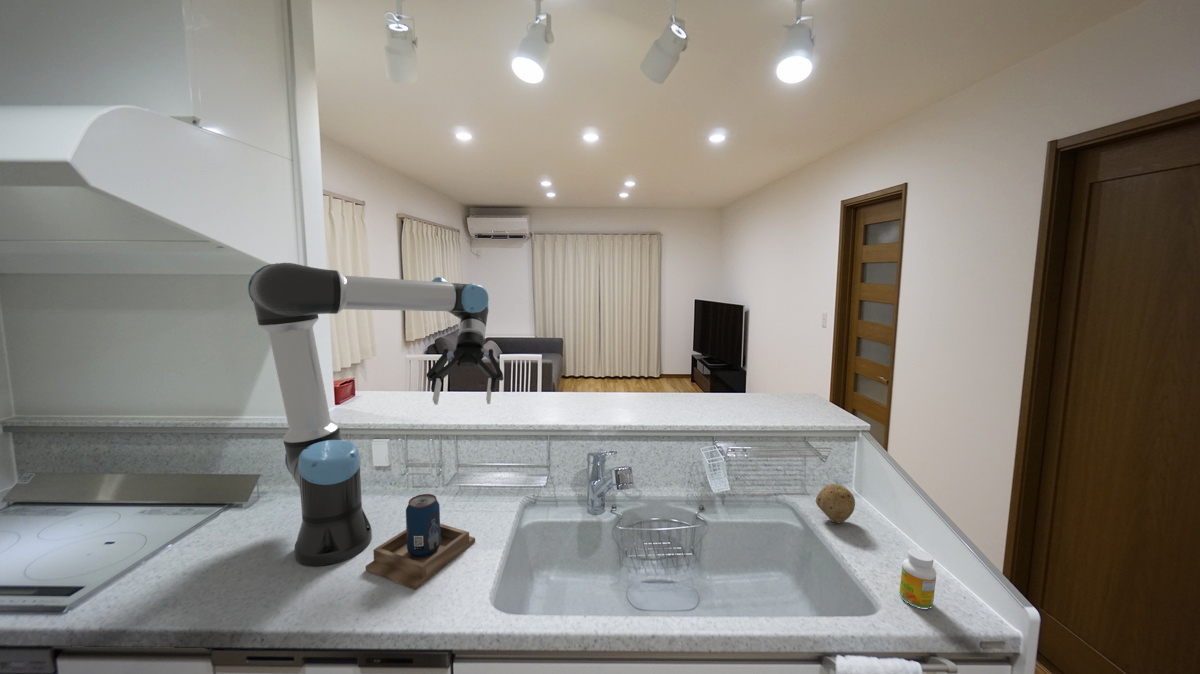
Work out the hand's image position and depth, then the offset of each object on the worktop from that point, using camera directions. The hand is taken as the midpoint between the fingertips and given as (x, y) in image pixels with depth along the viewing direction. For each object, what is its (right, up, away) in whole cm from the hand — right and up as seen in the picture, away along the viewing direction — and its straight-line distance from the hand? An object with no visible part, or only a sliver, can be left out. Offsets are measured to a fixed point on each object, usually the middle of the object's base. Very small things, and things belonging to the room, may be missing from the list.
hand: (461, 401), depth 115 cm
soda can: (-3, -31, -17) cm, 36 cm away
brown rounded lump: (+98, -32, 0) cm, 103 cm away
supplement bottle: (+99, -35, -29) cm, 108 cm away
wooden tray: (-3, -32, -17) cm, 36 cm away
